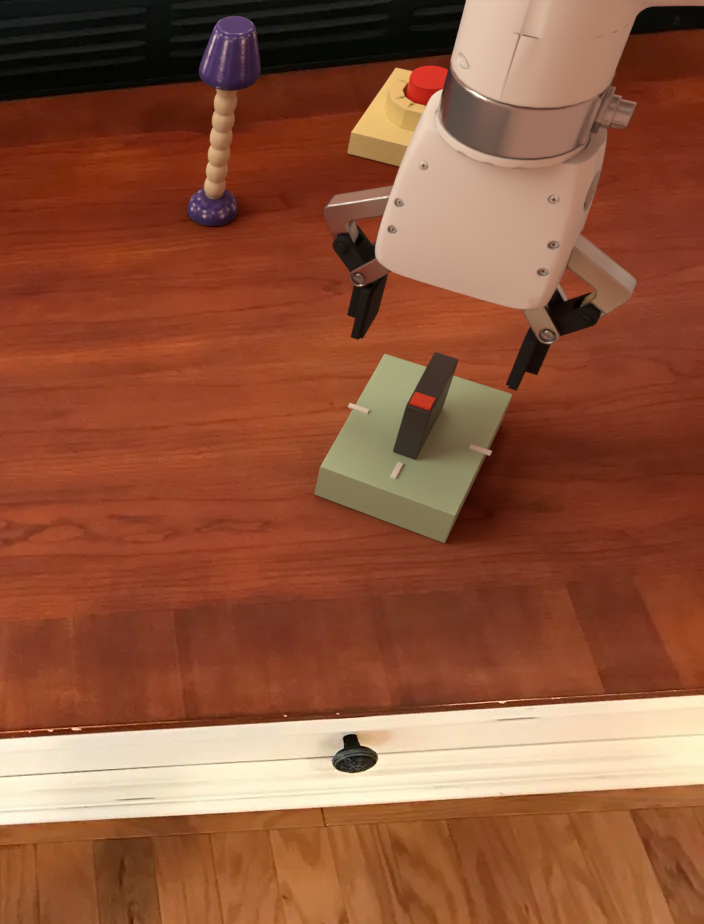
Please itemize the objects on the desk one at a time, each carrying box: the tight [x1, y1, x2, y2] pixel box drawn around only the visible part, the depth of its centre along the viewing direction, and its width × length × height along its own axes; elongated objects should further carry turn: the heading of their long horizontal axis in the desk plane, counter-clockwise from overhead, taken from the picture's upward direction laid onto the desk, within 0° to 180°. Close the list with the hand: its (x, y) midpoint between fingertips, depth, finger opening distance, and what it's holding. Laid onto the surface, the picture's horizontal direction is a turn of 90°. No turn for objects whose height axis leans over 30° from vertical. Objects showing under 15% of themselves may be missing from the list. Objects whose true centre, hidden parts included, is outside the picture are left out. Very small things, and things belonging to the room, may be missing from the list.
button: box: [406, 65, 448, 106], centre depth 98 cm, size 4×4×2 cm
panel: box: [314, 353, 513, 544], centre depth 78 cm, size 12×10×3 cm
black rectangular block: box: [393, 351, 459, 460], centre depth 75 cm, size 6×2×5 cm, turn 147°
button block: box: [347, 67, 426, 168], centre depth 100 cm, size 11×9×4 cm
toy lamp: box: [186, 15, 262, 227], centre depth 91 cm, size 5×5×17 cm
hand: (439, 349), depth 71 cm, fingers open, 9 cm apart
